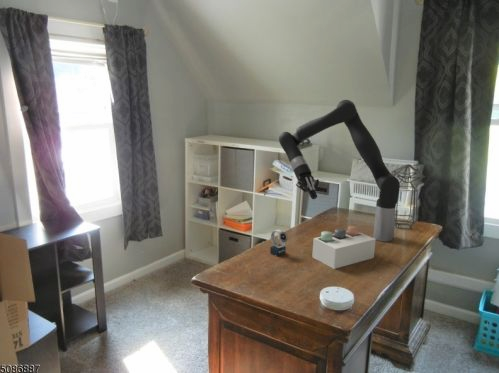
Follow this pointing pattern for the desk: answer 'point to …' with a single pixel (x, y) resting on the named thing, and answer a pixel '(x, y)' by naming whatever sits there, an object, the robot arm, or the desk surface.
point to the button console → (344, 250)
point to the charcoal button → (340, 233)
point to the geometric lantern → (408, 190)
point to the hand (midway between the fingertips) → (315, 198)
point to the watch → (278, 248)
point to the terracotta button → (353, 231)
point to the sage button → (326, 236)
